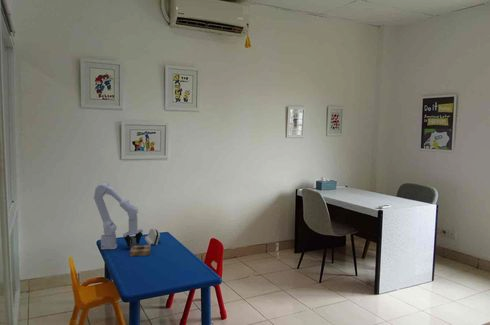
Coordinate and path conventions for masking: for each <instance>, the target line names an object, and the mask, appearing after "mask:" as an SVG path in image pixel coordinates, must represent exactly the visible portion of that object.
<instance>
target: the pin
mask: <svg viewBox="0 0 490 325" xmlns="http://www.w3.org/2000/svg"><path fill="white" fill-rule="evenodd" d="M130 237H131V240H130V248H131V247H132V246H137V243H136V235H135V236H134V235H132V236H130Z"/></svg>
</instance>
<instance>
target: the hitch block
mask: <svg viewBox="0 0 490 325" xmlns="http://www.w3.org/2000/svg"><path fill="white" fill-rule="evenodd" d="M151 246H152V244H151V245H149V244H145V245H144V244H142V245H140V244H138V245H136V246H132V247H131V246H130V250H129V257H140V256H142V257H143V256H145V257H146V256H148V257H149V256H150V254H151V250H152V247H151Z"/></svg>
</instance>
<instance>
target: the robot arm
mask: <svg viewBox="0 0 490 325" xmlns="http://www.w3.org/2000/svg"><path fill="white" fill-rule="evenodd" d="M94 191H95V192H94V196H93V200H94V202H95V204H96V207H97V210H98V212H99V215H100V218H101V220H102V223H103V225H102V227H103V234H101V236H100V250H116V249H117V247H118V244H117V233H116V230H117V225H116V224H115V223H114V220H112V219H111V216H110V213H109V211H108V210H109V209H108V208H107V206H106V203H105V202H106V201H105V200H104V196H105V195H108V196H111V197H113V199H115V201H117V202H118V203H119V206H120V207H121V208H122V209H123V211H124V212H126V213H127V216H128V231H126V232H125V233H123V234H122V237H123V238H124V240H125V243H126V246H127V247H129V248H131V245H130V240H131V237H132V236H134V235H135V237H136V245H137V244H138V245H140V243H141V238H142V236H143V233H144V231H143V229H142V228H140V229H139V228H138V213H139V210H138V208H137V207H136V206H135V205H133V204H131V203H130V200H128V199H125V198H123V197H122V196H121V195H120V194H119V193H118V192H117V191H116V190H115V189H114V187H113V186H112V185H110V184H109V183H108V182H105V181H104V182H102V183H100V184H98V185H97V186H96V187H95V189H94Z"/></svg>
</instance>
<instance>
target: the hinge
mask: <svg viewBox="0 0 490 325" xmlns="http://www.w3.org/2000/svg"><path fill="white" fill-rule="evenodd" d="M160 237H161V234H160V231H159V230H158V229H156V228H150V229H149V231H148V233H147V235H146V236H145V237H144V240H145V241H146V243H147V245H151V246H152V245H156V246H158V244H159V240H160Z"/></svg>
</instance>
